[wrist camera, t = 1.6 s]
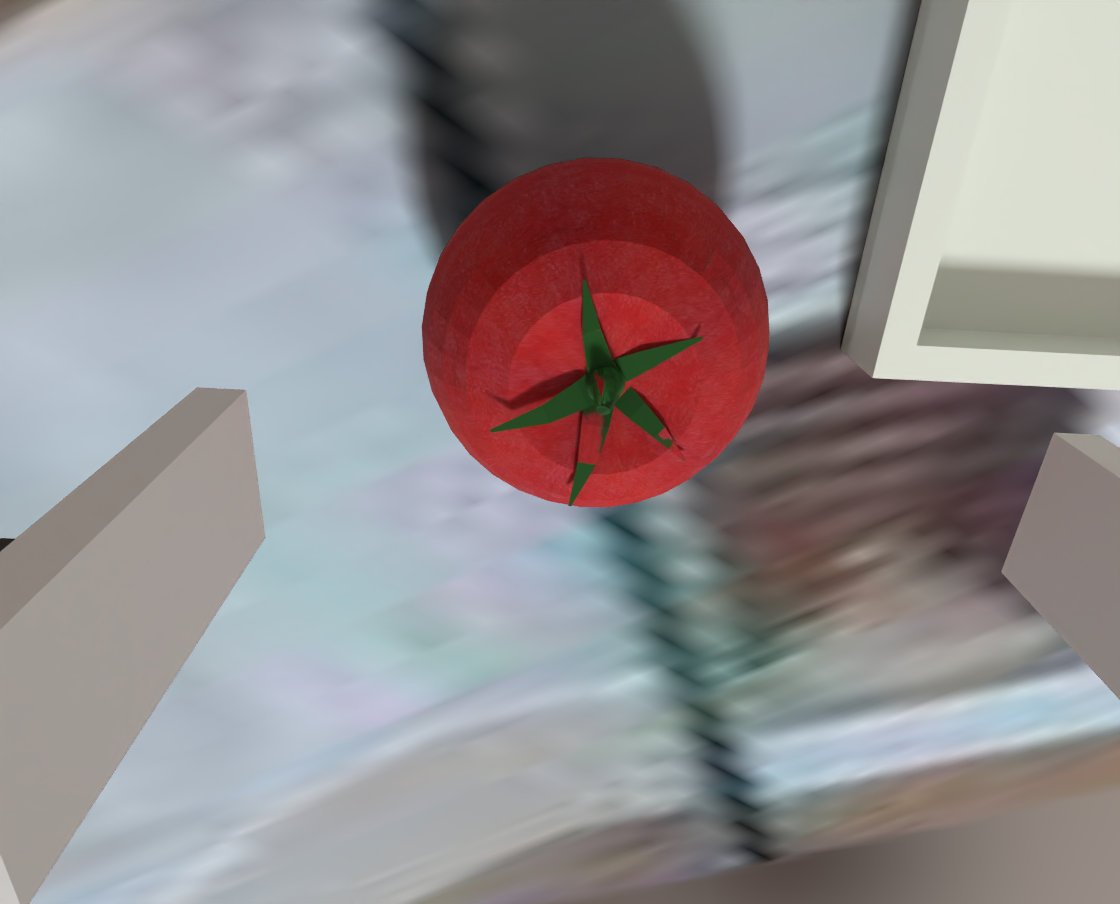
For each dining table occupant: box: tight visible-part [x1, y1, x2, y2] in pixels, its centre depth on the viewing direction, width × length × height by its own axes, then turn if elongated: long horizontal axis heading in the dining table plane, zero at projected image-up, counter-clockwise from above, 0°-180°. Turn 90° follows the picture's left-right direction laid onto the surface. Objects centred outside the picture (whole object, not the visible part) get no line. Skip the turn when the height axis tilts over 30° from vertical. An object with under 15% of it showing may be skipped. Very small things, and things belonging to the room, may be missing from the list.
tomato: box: [422, 158, 769, 507], centre depth 19 cm, size 9×9×8 cm
